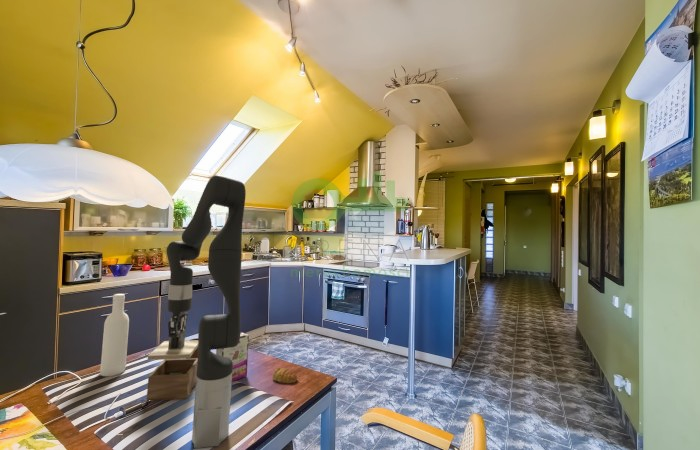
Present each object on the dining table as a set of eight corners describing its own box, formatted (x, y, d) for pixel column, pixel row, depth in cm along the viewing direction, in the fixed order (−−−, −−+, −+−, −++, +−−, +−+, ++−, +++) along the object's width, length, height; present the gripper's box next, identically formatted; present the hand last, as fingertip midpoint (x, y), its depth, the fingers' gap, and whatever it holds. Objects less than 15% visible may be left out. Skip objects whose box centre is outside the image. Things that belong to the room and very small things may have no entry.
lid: (189, 360, 102) (190, 339, 102) (147, 361, 99) (149, 340, 100) (200, 345, 116) (201, 326, 117) (163, 346, 113) (165, 327, 114)
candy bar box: (239, 372, 123) (242, 331, 124) (247, 376, 120) (249, 334, 121) (213, 382, 114) (216, 338, 115) (220, 386, 111) (223, 341, 112)
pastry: (300, 378, 121) (300, 368, 121) (291, 386, 115) (292, 376, 115) (279, 374, 124) (280, 364, 124) (270, 381, 118) (270, 371, 118)
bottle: (119, 376, 115) (125, 296, 116) (95, 377, 114) (101, 296, 115) (129, 367, 123) (135, 292, 124) (107, 368, 121) (113, 292, 123)
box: (186, 399, 102) (188, 374, 102) (146, 401, 99) (148, 376, 100) (197, 379, 116) (199, 358, 116) (162, 381, 113) (164, 359, 113)
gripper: (185, 300, 103) (181, 352, 102) (196, 293, 117) (193, 339, 116) (161, 300, 101) (156, 353, 100) (175, 293, 115) (171, 339, 114)
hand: (176, 345), depth 108 cm, fingers closed on lid, 4 cm apart
